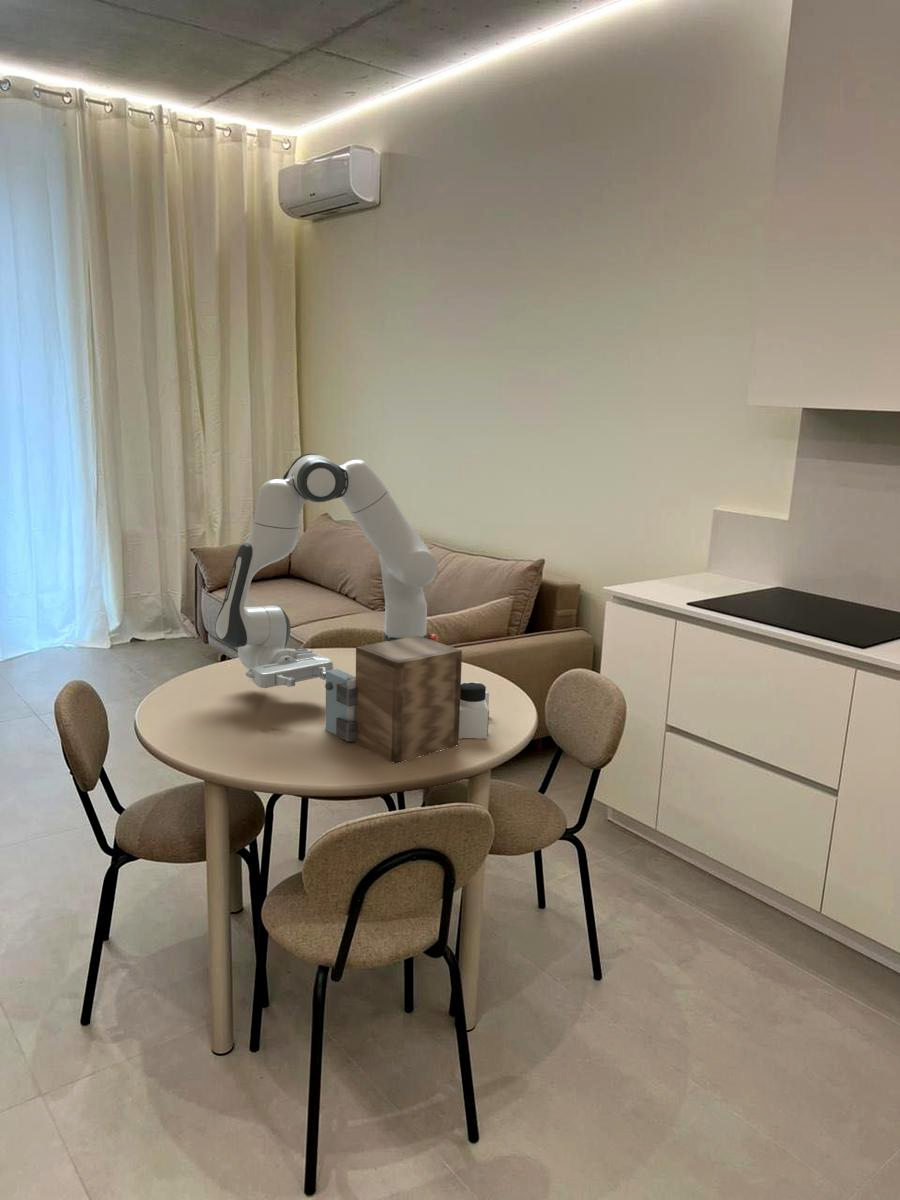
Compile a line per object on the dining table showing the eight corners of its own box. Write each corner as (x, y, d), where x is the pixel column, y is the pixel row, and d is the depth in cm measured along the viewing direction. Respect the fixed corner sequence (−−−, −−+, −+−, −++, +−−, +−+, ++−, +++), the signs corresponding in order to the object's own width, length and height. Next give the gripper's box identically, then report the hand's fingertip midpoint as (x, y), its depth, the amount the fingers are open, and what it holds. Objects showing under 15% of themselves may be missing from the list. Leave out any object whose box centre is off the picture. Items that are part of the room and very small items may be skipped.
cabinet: (406, 721, 213) (408, 632, 208) (458, 745, 199) (462, 650, 194) (336, 739, 200) (336, 644, 196) (386, 766, 186) (388, 664, 182)
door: (320, 730, 205) (320, 671, 202) (336, 726, 208) (336, 668, 205) (345, 743, 198) (345, 683, 195) (361, 739, 201) (362, 679, 198)
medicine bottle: (487, 739, 203) (490, 689, 201) (456, 739, 203) (458, 688, 200) (484, 728, 210) (486, 679, 208) (454, 728, 210) (455, 679, 207)
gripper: (242, 660, 215) (270, 674, 205) (314, 647, 228) (345, 660, 218) (242, 685, 216) (271, 700, 206) (314, 671, 230) (345, 684, 219)
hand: (309, 679), depth 212 cm, fingers open, 8 cm apart
